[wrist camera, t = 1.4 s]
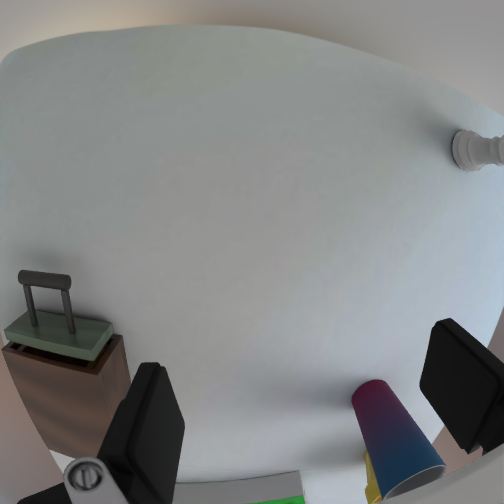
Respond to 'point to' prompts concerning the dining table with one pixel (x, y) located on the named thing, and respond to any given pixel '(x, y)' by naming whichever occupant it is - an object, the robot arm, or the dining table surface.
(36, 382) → the cabinet
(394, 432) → the cup
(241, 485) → the tray
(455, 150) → the rook chess piece
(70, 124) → the dining table surface
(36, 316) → the drawer
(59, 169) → the dining table surface
